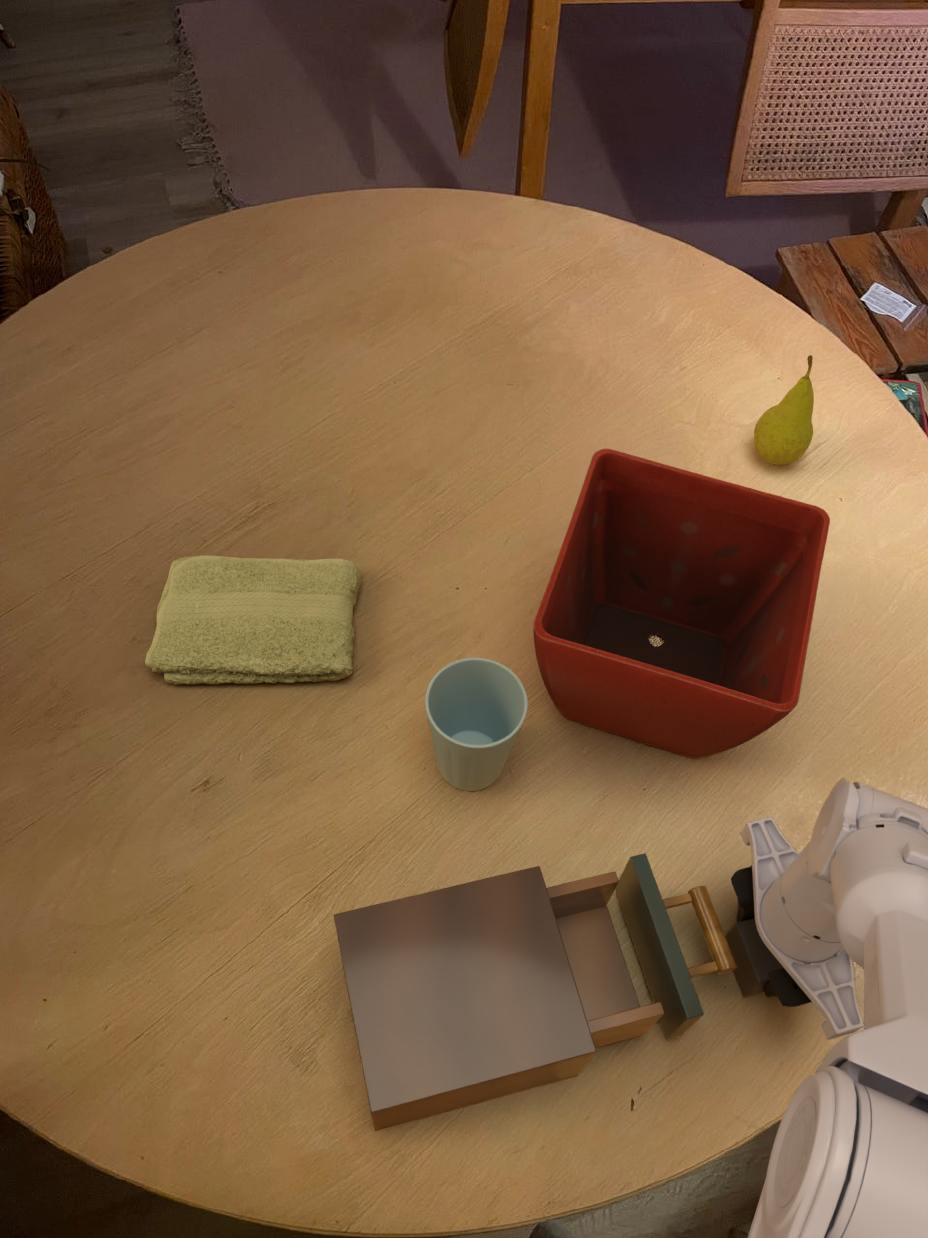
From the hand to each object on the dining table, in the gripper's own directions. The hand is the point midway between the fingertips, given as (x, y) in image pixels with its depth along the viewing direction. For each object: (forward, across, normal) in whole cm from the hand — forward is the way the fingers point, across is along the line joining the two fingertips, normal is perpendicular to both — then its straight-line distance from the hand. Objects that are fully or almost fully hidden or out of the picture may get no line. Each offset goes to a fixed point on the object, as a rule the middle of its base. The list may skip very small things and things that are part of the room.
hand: (763, 957), depth 77 cm
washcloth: (+2, +38, +32) cm, 50 cm away
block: (+1, 0, 0) cm, 1 cm away
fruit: (+2, +47, -22) cm, 52 cm away
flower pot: (+2, +25, 0) cm, 25 cm away
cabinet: (+1, +2, +23) cm, 23 cm away
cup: (+2, +21, +17) cm, 27 cm away
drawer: (+1, +2, +12) cm, 13 cm away
